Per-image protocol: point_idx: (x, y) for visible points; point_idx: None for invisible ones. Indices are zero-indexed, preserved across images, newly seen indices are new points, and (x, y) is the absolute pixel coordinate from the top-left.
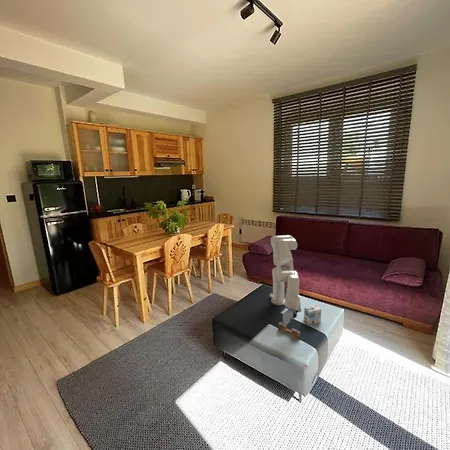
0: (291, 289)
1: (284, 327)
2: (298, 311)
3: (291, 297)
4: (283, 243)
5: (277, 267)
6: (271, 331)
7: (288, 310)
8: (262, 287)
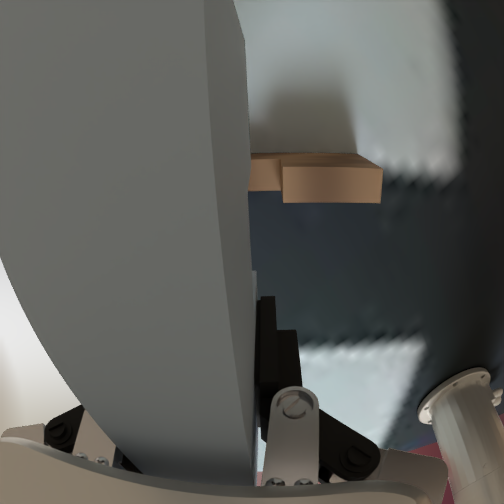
0: None
1: (291, 162)
2: (49, 432)
3: None
4: None
5: None
6: (387, 84)
7: (181, 398)
8: None
